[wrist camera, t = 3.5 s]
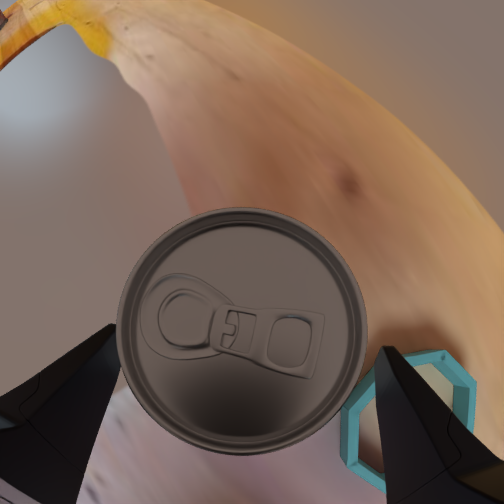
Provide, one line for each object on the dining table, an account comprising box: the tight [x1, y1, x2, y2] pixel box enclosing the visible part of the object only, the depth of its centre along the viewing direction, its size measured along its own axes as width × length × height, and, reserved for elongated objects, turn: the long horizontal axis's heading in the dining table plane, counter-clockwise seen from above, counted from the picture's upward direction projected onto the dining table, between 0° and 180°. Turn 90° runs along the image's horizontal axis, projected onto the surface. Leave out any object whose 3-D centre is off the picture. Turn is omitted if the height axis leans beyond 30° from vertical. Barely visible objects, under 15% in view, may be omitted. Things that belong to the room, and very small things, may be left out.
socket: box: [340, 350, 477, 494], centre depth 15 cm, size 9×9×2 cm
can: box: [116, 207, 368, 456], centre depth 12 cm, size 6×6×12 cm
